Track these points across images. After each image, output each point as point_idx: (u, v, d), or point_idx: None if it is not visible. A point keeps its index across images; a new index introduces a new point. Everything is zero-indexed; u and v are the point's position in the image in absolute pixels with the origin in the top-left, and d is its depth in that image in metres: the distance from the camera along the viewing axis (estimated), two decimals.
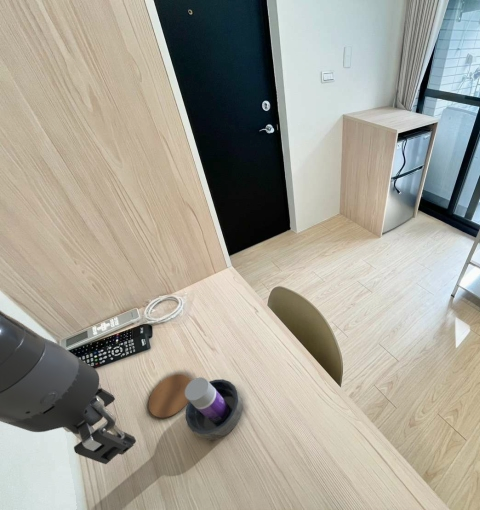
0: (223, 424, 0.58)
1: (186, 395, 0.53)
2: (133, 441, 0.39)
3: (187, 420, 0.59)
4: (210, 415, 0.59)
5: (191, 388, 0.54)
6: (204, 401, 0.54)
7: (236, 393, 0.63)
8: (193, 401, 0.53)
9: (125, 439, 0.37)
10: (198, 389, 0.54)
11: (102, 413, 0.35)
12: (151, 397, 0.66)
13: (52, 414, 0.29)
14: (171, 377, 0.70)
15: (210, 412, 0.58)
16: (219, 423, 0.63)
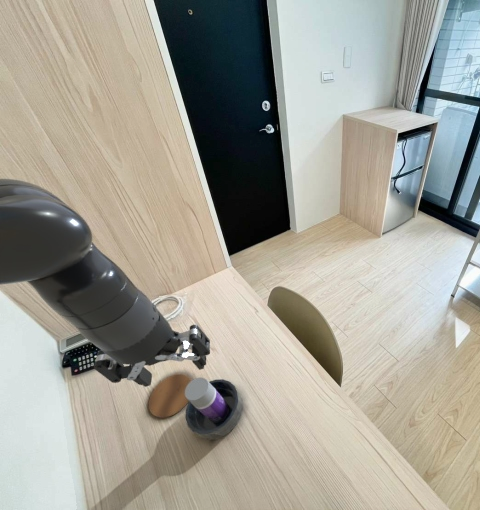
0: (223, 424, 0.58)
1: (186, 395, 0.53)
2: None
3: (187, 420, 0.59)
4: (210, 415, 0.59)
5: (191, 388, 0.54)
6: (204, 401, 0.54)
7: (236, 393, 0.63)
8: (193, 401, 0.53)
9: None
10: (198, 389, 0.54)
11: None
12: (151, 397, 0.66)
13: (162, 323, 0.38)
14: (171, 377, 0.70)
15: (210, 412, 0.58)
16: (219, 423, 0.63)
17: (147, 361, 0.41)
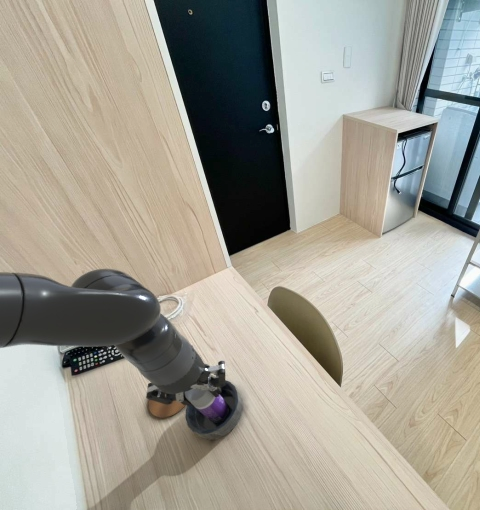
0: (223, 424, 0.58)
1: (186, 395, 0.53)
2: None
3: (187, 420, 0.59)
4: (210, 415, 0.59)
5: (191, 389, 0.54)
6: (204, 401, 0.54)
7: (236, 393, 0.63)
8: (193, 401, 0.53)
9: None
10: (198, 389, 0.54)
11: None
12: None
13: (198, 360, 0.47)
14: None
15: (210, 412, 0.58)
16: (219, 423, 0.63)
17: None
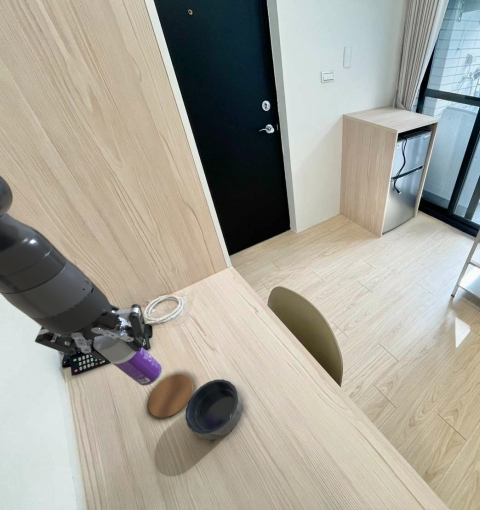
0: (223, 424, 0.58)
1: (94, 345, 0.45)
2: None
3: (187, 420, 0.59)
4: (133, 374, 0.51)
5: (102, 338, 0.46)
6: (117, 353, 0.46)
7: (236, 393, 0.63)
8: (102, 352, 0.45)
9: None
10: (110, 339, 0.46)
11: None
12: (151, 397, 0.66)
13: (96, 295, 0.39)
14: (171, 377, 0.70)
15: (132, 369, 0.50)
16: (219, 423, 0.63)
17: (85, 334, 0.42)
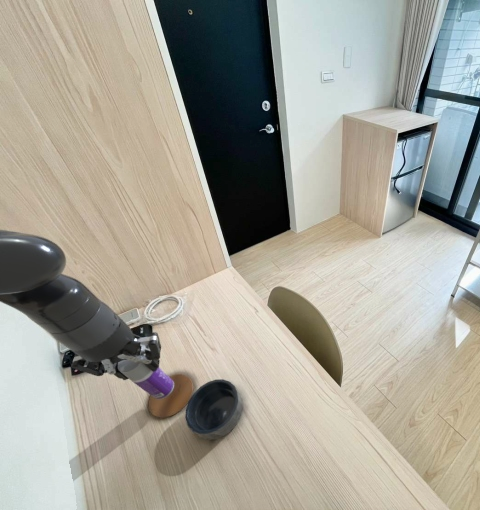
0: (223, 424, 0.58)
1: (118, 367, 0.53)
2: None
3: (187, 420, 0.59)
4: (150, 390, 0.59)
5: (125, 361, 0.53)
6: (138, 374, 0.54)
7: (236, 393, 0.63)
8: (125, 373, 0.52)
9: None
10: (132, 362, 0.53)
11: None
12: (151, 397, 0.66)
13: (122, 328, 0.47)
14: (171, 377, 0.70)
15: (149, 386, 0.58)
16: (219, 423, 0.63)
17: (112, 359, 0.50)
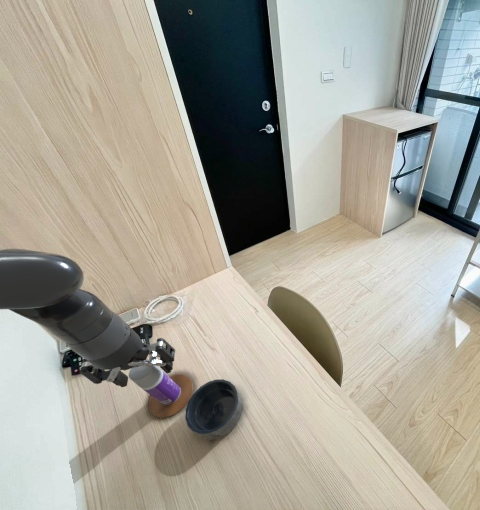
0: (223, 424, 0.58)
1: (130, 376, 0.55)
2: None
3: (187, 420, 0.59)
4: (158, 397, 0.61)
5: (135, 370, 0.56)
6: (148, 382, 0.57)
7: (236, 393, 0.63)
8: (136, 381, 0.55)
9: None
10: (142, 370, 0.56)
11: None
12: (151, 397, 0.66)
13: (133, 338, 0.49)
14: (171, 377, 0.70)
15: (158, 393, 0.60)
16: (219, 423, 0.63)
17: (122, 367, 0.52)
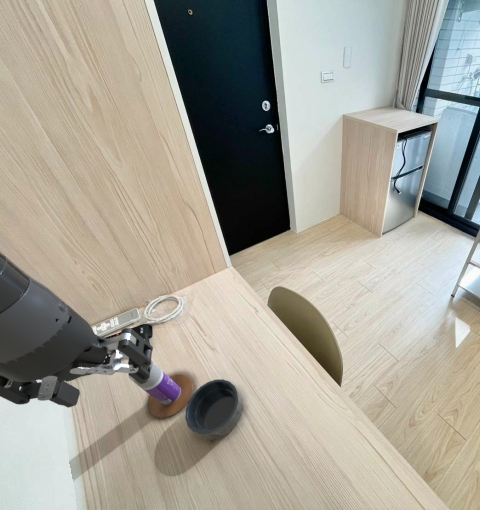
0: (223, 424, 0.58)
1: (130, 376, 0.55)
2: None
3: (187, 420, 0.59)
4: (158, 397, 0.61)
5: None
6: (148, 382, 0.57)
7: (236, 393, 0.63)
8: (136, 381, 0.55)
9: None
10: None
11: None
12: (151, 397, 0.66)
13: (75, 326, 0.29)
14: (171, 377, 0.70)
15: (158, 393, 0.60)
16: (219, 423, 0.63)
17: (62, 376, 0.32)
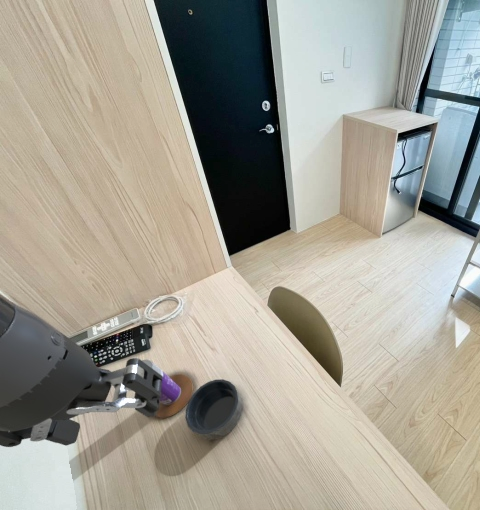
0: (223, 424, 0.58)
1: None
2: None
3: (187, 420, 0.59)
4: None
5: None
6: None
7: (236, 393, 0.63)
8: None
9: None
10: None
11: None
12: None
13: (72, 362, 0.24)
14: (171, 377, 0.70)
15: None
16: (219, 423, 0.63)
17: (58, 415, 0.27)
